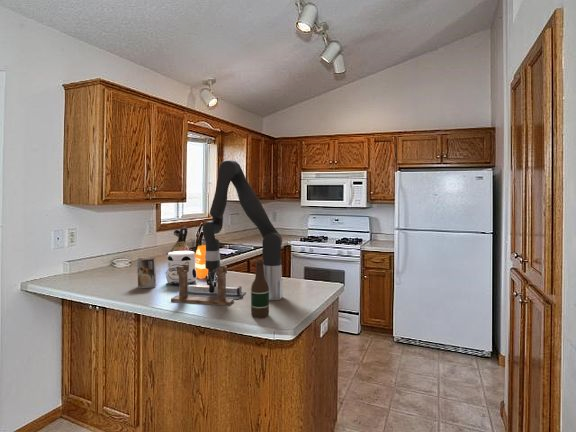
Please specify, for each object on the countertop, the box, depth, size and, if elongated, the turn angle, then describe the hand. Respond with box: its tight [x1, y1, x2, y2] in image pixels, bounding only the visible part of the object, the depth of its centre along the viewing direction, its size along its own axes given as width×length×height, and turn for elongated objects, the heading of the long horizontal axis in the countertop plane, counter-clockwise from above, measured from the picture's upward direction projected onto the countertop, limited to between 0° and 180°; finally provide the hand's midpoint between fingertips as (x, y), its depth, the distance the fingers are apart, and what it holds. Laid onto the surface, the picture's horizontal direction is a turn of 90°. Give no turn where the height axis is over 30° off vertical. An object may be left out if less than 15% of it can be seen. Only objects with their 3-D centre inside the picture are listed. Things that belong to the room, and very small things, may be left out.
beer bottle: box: [250, 259, 270, 319], centre depth 158 cm, size 8×8×24 cm
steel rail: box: [187, 283, 243, 295], centre depth 191 cm, size 30×4×4 cm, turn 79°
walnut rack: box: [170, 264, 235, 306], centre depth 178 cm, size 30×6×18 cm, turn 79°
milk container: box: [165, 250, 198, 286], centre depth 216 cm, size 17×17×18 cm
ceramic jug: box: [170, 226, 191, 252], centre depth 250 cm, size 17×15×30 cm
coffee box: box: [136, 257, 157, 289], centre depth 207 cm, size 9×6×16 cm
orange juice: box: [195, 244, 208, 279], centre depth 233 cm, size 8×9×20 cm
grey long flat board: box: [188, 291, 247, 300], centre depth 192 cm, size 32×12×1 cm, turn 79°
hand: (212, 291), depth 192 cm, fingers open, 3 cm apart
